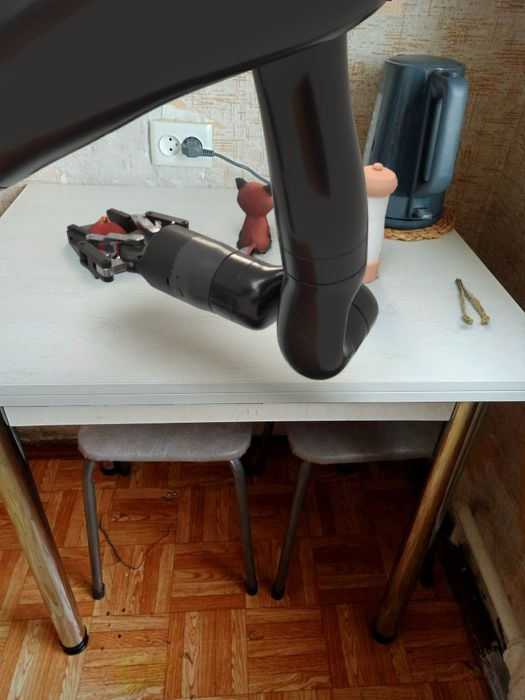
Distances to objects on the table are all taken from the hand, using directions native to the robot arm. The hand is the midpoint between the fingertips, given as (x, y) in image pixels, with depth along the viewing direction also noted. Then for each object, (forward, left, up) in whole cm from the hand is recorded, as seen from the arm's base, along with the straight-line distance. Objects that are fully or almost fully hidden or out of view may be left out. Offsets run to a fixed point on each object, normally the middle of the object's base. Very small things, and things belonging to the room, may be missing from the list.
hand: (90, 224), depth 62 cm
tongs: (+53, -21, -17) cm, 59 cm away
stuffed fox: (+31, +11, -17) cm, 37 cm away
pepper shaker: (+43, -5, -17) cm, 47 cm away
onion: (+1, -2, -6) cm, 7 cm away
